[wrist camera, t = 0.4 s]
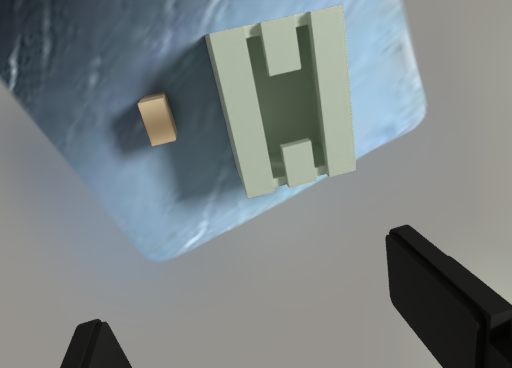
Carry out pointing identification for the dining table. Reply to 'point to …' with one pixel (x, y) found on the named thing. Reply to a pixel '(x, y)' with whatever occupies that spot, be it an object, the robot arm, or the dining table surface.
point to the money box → (286, 98)
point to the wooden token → (158, 118)
